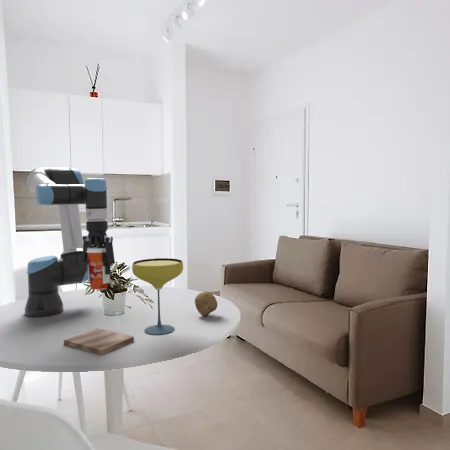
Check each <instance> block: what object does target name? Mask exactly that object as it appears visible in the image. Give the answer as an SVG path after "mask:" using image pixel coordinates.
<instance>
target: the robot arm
mask: <svg viewBox="0 0 450 450" xmlns="http://www.w3.org/2000/svg"><path fill="white" fill-rule="evenodd" d="M106 181H107V180H106V179H105V178H101V177H100V178H99V177H96V178H95V177H91V178H90V177H88V178H85V179H84V178H83V175H82V173H81V171H80V170H79V169H78V168H74V167H57V166H55V167H54V166H53V167H51V166H50V167H48V166H41V167H37V168H34V169H32V170H30V171H29V172H28V173H27V174H26V175H25V178H24V185H25V187H26V188H27V190H29V191H30V192H31V193H33V194H35V201H36V203H37V204H38V205H40V206H54V205H56V206H58V215H59V221H60V222H59V223H60V229H61V230H60V231H61V240H62V248H63V249H62V250H63V251H62V252H61V253H60V258H58V256H56V255H47V256H41V257H40V256H39V257H36V258H34V259H31V260H30V261H29V262H28V263H27V267H26V268H27V271H26V273H27V287H28V290H27V291H28V296H27V299H26V304H25V308H24V315H25V316H27V317H32V318H33V317H35V318H37V317H47V316H53V315H57V314H59V313H62V312H63V311H64V303H63V301H62V298H61V296H60V294H59V287H60V286H68V285H74V284H82V282H83V281H86V280H88V282H87V283H90V278H89V268H88V257H87V252H86V251H87V248H93V247H98V248H106V252H103V251H102V260H103V263H104V265H103V266H102V273H103V284H106V283H108V284H109V283H111V278H110V276H111V275H110V274H111V265H115V262H116V261H115V254H114V253H115V252H114V246H113V245H114V244H113V241H114V238H113V236H108V234H107V231H108V229H109V228H108V227H109V226H108V225H109V223H108V221H107V220H108V207H107V206H108V204H107V203H108V201H107V199H108V198H107V197H108V196H107V189H108V187H107V182H106ZM79 205H85V219H86V220H87V221H86V222H85V227H86V228H85V229H86V231H87V232H88V235H83V233H82V232H83V231H82V223H81V216H80V215H81V214H80V207H79Z"/></svg>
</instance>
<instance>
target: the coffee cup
mask: <svg viewBox="0 0 450 450" xmlns="http://www.w3.org/2000/svg"><path fill="white" fill-rule="evenodd" d="M102 251H103V252H106V248H98V247H93V248H87V251H86V252H87V257H88V268H89V278H90V282H89V285H90V289H91V290H103V289H107V288H108V284H109V283H106V284H103V273H102V266H103V265H104V263H103V260H102Z"/></svg>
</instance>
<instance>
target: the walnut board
mask: <svg viewBox="0 0 450 450" xmlns="http://www.w3.org/2000/svg"><path fill="white" fill-rule="evenodd" d="M132 342H135V337H134V336H133V335H129V334H124V333H120V332H117V331H116V332H115V331H111V330H106V329H104V328H98V327H96V328H94V329H91V330H88V331H85V332H82V333H80V334H76V335H74V336H71V337H68V338H66V339H63V345H64V346H68V347H73V348H76V349H80V350H83V351H86V352H90V353H94V354H98V355H101V356H102V355H104V354H107V353H109V352H111V351H113V350H116V349H118V348H120V347H123V346H125V345H128V344H130V343H132Z"/></svg>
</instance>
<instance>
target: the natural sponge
mask: <svg viewBox="0 0 450 450" xmlns="http://www.w3.org/2000/svg"><path fill="white" fill-rule="evenodd" d="M194 305H195V308H196V310H197V312H198V313H199V314H200V315H201V316H202V317H208V316H209V315H210V314H211V313H212V312H214V311H216V310H217V309H218V301H217V299H216V297H215V295H214V294H213V293H212V292H209V291H202V292H199V293H198V294H197V295H196V296H195V298H194Z"/></svg>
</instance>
